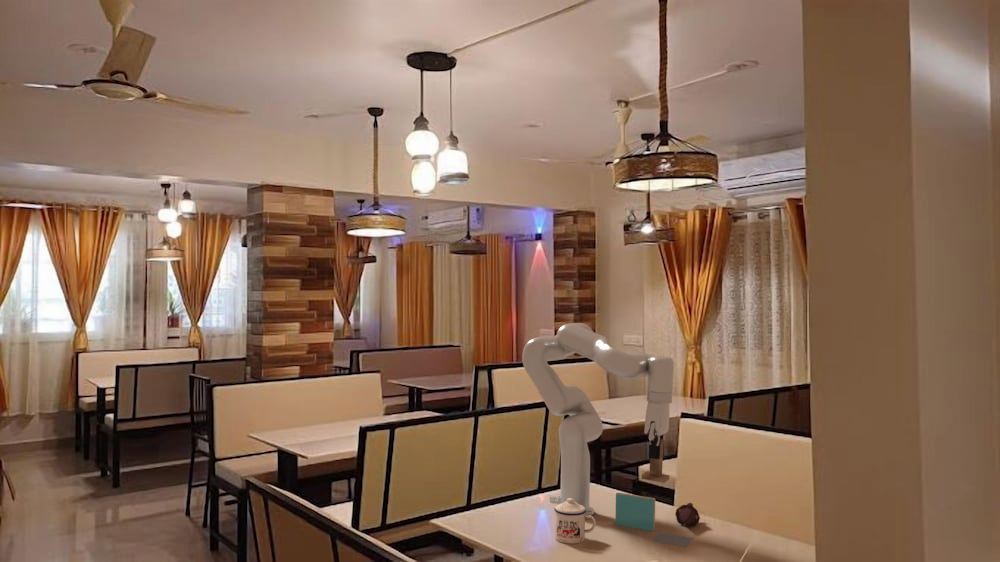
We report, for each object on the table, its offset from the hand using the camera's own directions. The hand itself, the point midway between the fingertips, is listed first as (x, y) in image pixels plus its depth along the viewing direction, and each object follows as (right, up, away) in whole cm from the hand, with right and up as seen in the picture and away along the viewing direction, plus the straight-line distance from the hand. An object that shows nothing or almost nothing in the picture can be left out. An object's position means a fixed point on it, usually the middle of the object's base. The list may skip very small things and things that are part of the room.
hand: (656, 456), depth 218 cm
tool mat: (+3, -22, -9) cm, 24 cm away
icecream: (+11, -23, +4) cm, 26 cm away
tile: (-6, -17, +1) cm, 19 cm away
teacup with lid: (-26, -22, -10) cm, 35 cm away
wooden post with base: (0, -7, 0) cm, 7 cm away
